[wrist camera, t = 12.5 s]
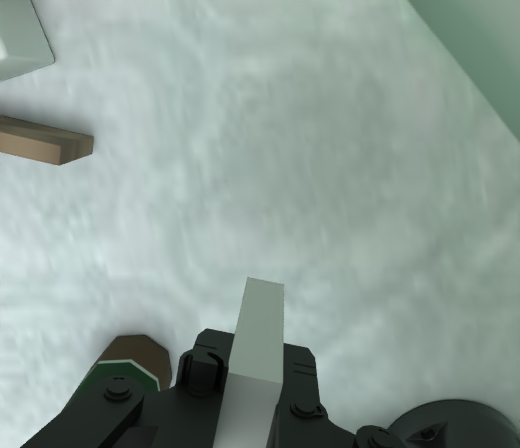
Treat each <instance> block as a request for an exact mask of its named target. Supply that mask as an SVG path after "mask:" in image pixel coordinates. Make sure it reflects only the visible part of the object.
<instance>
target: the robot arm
mask: <svg viewBox="0 0 520 448" xmlns="http://www.w3.org/2000/svg"><path fill="white" fill-rule="evenodd" d="M283 330H284V284H279V283H274V282H269V281H264V280H259V279H255V278H250V277H248V278H247V282H246V287H245V291H244V296H243V300H242V305H241V309H240V314H239V318H238V323H237V327H236V332H235V334H232V333H227V332H222V331H218V330H213V329H208V328H207V329H205V330H204V331H202V332H201V333H200V334H198V336H197V339H196V341H195V345H194V347H193V349H191V350H189V351H187V352H184V353H183V354H182V356H181V357H180V360H179V366H178V372H177V378H176V384H175V386H174V387H172V388H170V389H167V390H163V391H155V392H144V387H143V385H142V384H141V383H140V382H139V381H138V380H136V379H134V378H132V377H128V376H124V375H113V376H109V377H105V378H103V379H101V380H99V381H98V382H96V383H95V384H93V385H92V386H91V387H90V388H89V389H88V390H86V391H85V392H84V393H83V394H82V395H81V396H79V397H78V398H77V399H76V400H75V401H74V402H72V403H71V404H70V405H69V406H68V407H67V408H65V409H64V410H63V411H62V412H61V413H60V414H58V415H57V416H56V417H55V418H54V419H53V420H51V421H50V422H49V423H48V424H47V425H46V426H44V427H43V428H42V429H41V430H40V431H39V432H37V433H36V434H35V435H34V436H33V437H32V438H30V439H29V440H28V441H27V442H26V443H25V444H23V445H22V446H21V447H20V448H520V435H519V433H518V432H517V430H516V429H515V428H514V426H513V425H512V424H511V422H510V421H509V420H508V419H507V418H505V417H504V416H503V415H502V414H500V413H499V412H497V411H495V410H493V409H491V408H489V407H487V406H484V405H481V404H478V403H474V402H469V401H458V400H451V401H441V402H435V403H431V404H427V405H424V406H421V407H419V408H417V409H414V410H412V411H410V412H409V413H407V414H405V415H404V416H402V417H401V418H400V419H398V420H397V421H396V422H395V423H394V424H393V425H392V426H391V427H390V428H389V429H388V430H386V429H384V428H382V427H378V426H372V425H369V426H363V427H361V428H360V429H358V430H357V433H356V435H355V434H353V433H351V432H348V431H346V430H344V429H342V428H340V427H338V426H336V425H335V424H334V423H332V422H331V421H330V420H329V419H328V414H327V411H326V409H325V408H324V407H323V405H322V404H321V403H320V397H319V389H318V380H317V371H316V362H315V357H314V356H313V354H312V353H311V351H310V350H309V349H308V348H306V347H301V346H296V345H291V344H286V343H283Z"/></svg>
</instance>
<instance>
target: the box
mask: <svg viewBox="0 0 520 448" xmlns="http://www.w3.org/2000/svg"><path fill="white" fill-rule="evenodd" d="M93 139H94V137H91V136H87V135H82V134H78V133H74V132H70V131H65V130H61V129H57V128H52V127H48V126H44V125H40V124H35V123H31V122H27V121H23V120H18V119H14V118H10V117H6V116H1V115H0V152H2V153H7V154H11V155H15V156H20V157H24V158H28V159H32V160H37V161H41V162H45V163H50V164H54V165H58V166H60V165H62V164H65V163H68V162H71V161H74V160H76V159H79V158H82V157H85V156H87V155H90V154H92V148H93Z"/></svg>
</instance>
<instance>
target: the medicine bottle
mask: <svg viewBox="0 0 520 448" xmlns="http://www.w3.org/2000/svg"><path fill="white" fill-rule="evenodd" d="M52 63H54V57H53V54H52V52H51V49H50V47H49V45H48V42H47V40H46V37H45V35H44V32H43V30H42V27H41V25H40V22H39V20H38V18H37V15H36V13H35V10H34V8H33V5H32V3H31V0H0V82H1V81H4V80H7V79H10V78H12V77H15V76H18V75H21V74H24V73H27V72H30V71H33V70H35V69H38V68H41V67H44V66H47V65H50V64H52Z"/></svg>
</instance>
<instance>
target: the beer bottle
mask: <svg viewBox="0 0 520 448" xmlns="http://www.w3.org/2000/svg"><path fill="white" fill-rule="evenodd" d="M113 375H124V376H128V377H132V378H134V379H136V380H138V381H139V382H140V383H141V384H142V385H143V387H144V392H155V391H163V390H167V389H169V387H170V383H171V380H172V374H171V368H170V362H169V356H168V352H167V351H166V350H165V349H163V348H162V347H160V346H159V345H158V344H156V343H155V342H154V341H152V340H151V339H149V338H148V337H147V336H125V337H116V338H115V339H114V341H113V342H112V343H111V344H110V345H109V346H108V348H107V349H106V350H105V351H104V352H103V354H102V355H101V356H100V357H99V358H98V360H97V361H96V362H95V363H94V365H93V366H92V367H91V369H90V370H89V372H88V373H87V375H86V376H85V378H84V379H83V381H82V382H81V383H80V385H79V386H78V388H77V389H76V391H75V392H74V394H73V395H72V397H71V398H70V400H69V401H68V403H67V404H66V406H65V407H64V408H63V410H64V409H65V408H67V407H68V406H69V405H70V404H71V403H72V402H74V401H75V400H76V399H77V398H78V397H79V396H81V395H82V394H83V393H84V392H85V391H86V390H88V389H89V388H90V387H91V386H92V385H93V384H95V383H96V382H98V381H99V380H101V379H103V378H105V377H109V376H113ZM63 410H62V411H63ZM62 411H61V412H62Z"/></svg>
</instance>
